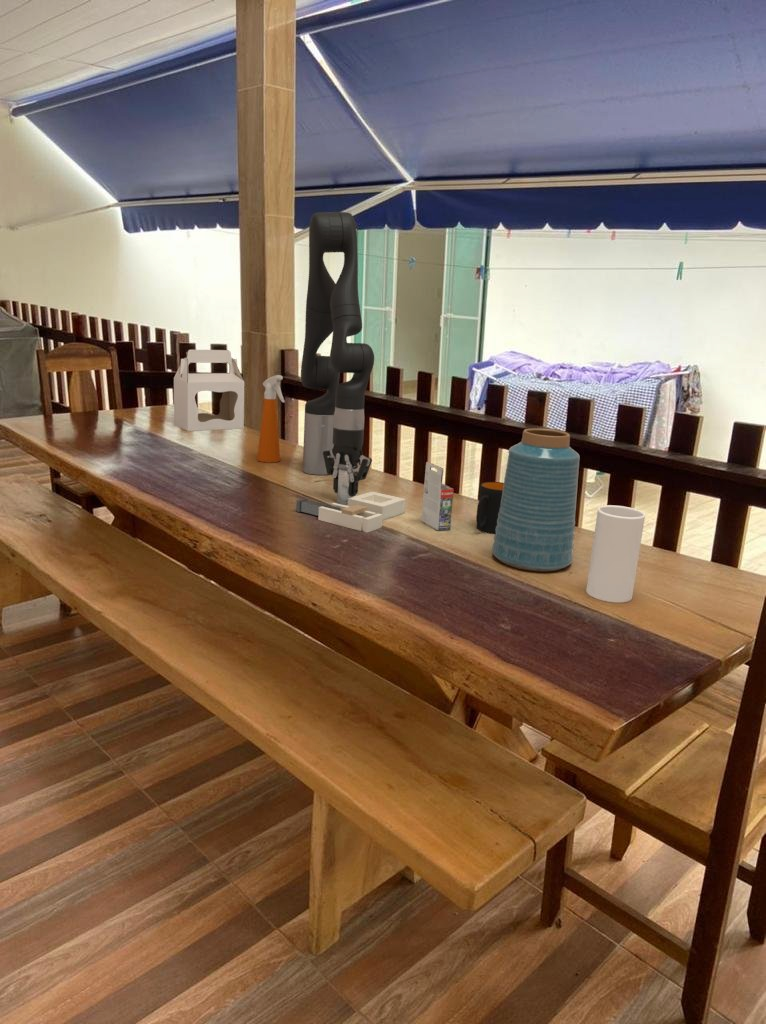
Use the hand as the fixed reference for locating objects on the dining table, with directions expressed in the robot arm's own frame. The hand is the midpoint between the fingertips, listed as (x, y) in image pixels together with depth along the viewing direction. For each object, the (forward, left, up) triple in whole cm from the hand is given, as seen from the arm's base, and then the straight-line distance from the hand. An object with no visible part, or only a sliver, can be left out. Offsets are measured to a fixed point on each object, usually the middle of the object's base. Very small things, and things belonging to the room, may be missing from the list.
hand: (345, 493), depth 195 cm
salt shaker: (0, 0, -2) cm, 2 cm away
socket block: (+2, +11, -2) cm, 11 cm away
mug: (-5, +38, -3) cm, 38 cm away
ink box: (+1, +27, -3) cm, 27 cm away
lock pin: (+14, +3, -2) cm, 14 cm away
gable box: (-49, -99, -3) cm, 110 cm away
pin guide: (+14, +11, -2) cm, 18 cm away
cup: (+16, +73, -2) cm, 75 cm away
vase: (+8, +54, -3) cm, 55 cm away
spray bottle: (-22, -44, -2) cm, 49 cm away
